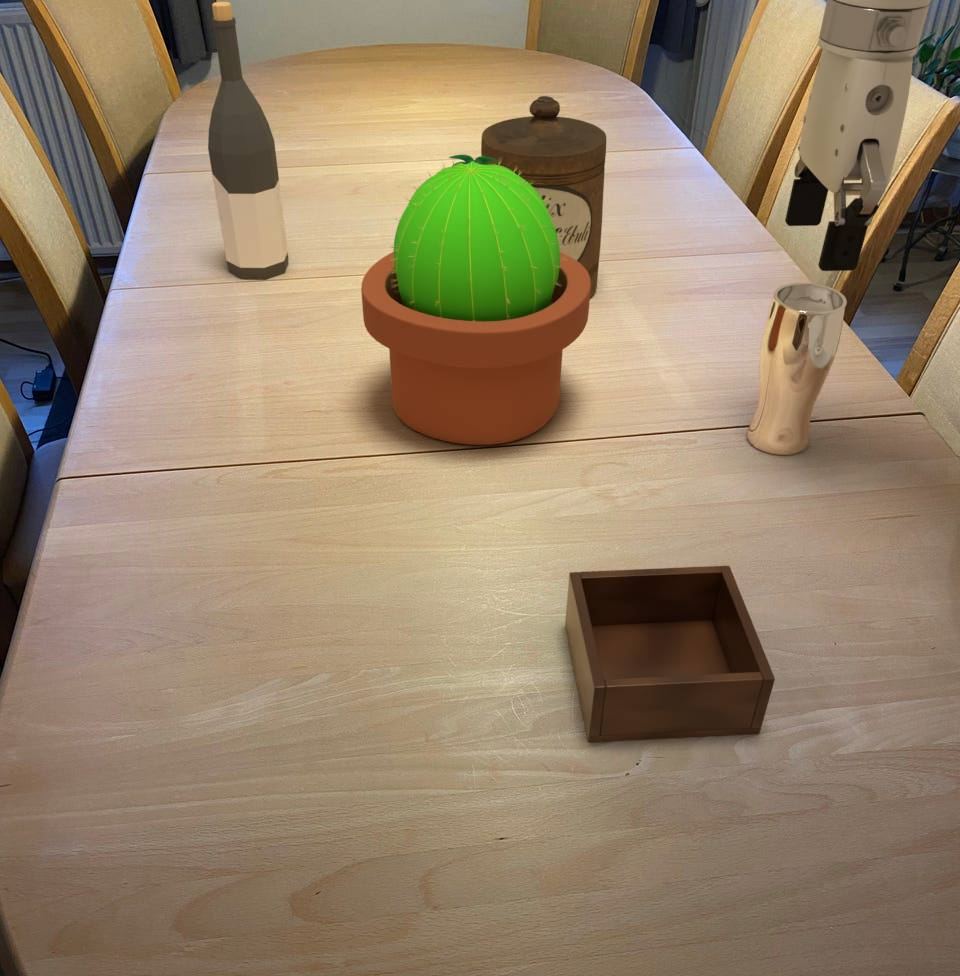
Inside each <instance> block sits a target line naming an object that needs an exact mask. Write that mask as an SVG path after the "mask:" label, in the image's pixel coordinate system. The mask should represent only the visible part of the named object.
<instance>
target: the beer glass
mask: <svg viewBox="0 0 960 976" xmlns="http://www.w3.org/2000/svg"><path fill="white" fill-rule="evenodd" d="M847 304H848V301H847V298H846V296H845V295H844V294H843V293H841V292H840V291H838V290H837V289H836V288H835V289H834V288H833V287H830V286H827V285H823V284H819V283H813V282H791V283H786V284H782V285H781V286H778V287H776V289H775V290H774V292H773V296H772V299H771V304H770V307H769V309H768V313H767V316H766V320H765V323H764V327H763V328H764V329H763V332H762V337H761V344H760V351H759V369H758V371H759V372H758V374H759V375H758V399H757V405H756V409H755V413H754V415H753V417H752V419H751V422H750V425H749V427H748V429H747V432H746V437H747V440H748V442H749V443H750V444H751V446H753V447H754V448H756V450H759V451H762V452H763V453H767V454H770V455H776V456H790V455H795V454H798V453H801V452H803V451H805V450H806V448H807V447H808V446H809V441H810V427H811V426H810V425H811V419H812V417H811V416H812V412H813V411H814V407H815V405H816V403H817V402H816V401H817V399H818V397H819V395H820V393H821V391H822V389H823V387H824V385H825V382H826V381H827V378H828V376H829V373H830V371H831V369H832V366H833V363H834V361H835V358H836V354H837V351H838V348H839V345H840V339H841V335H842V331H843V325H844V319H845V312H846V311H845V310H846V307H847Z"/></svg>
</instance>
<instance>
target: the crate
mask: <svg viewBox="0 0 960 976" xmlns="http://www.w3.org/2000/svg"><path fill="white" fill-rule="evenodd" d="M568 574H569V575H568V585H567V597H566V608H565V609H566V611H565V622H564V627H565V632H566V638H567V642H568V648H569V652H570V657H571V662H572V667H573V672H574V677H575V683H576V687H577V692H578V699H579V703H580V708H581V713H582V718H583V722H584V727H585V728H584V729H585V732H586V738H587V742H588V743H595V742H596V743H597V742H614V741H615V742H617V741H632V740H633V741H635V740H652V739H653V740H654V739H673V738H690V737H691V738H693V737H710V736H729V735H730V736H731V735H748V734H750V735H751V734H760V733H761V730H762V727H763V723H764V720H765V715H766V713H767V709H768V705H769V702H770V699H771V694H772V692H773V691H772V690H773V687H774V684H775V680H776V678H775V675H774V673H773V670H772V668H771V666H770V663H769V661H768V659H767V655H766V653H765V650H764V648H763V646H762V645H763V644H762V643H761V641H760V639H759V636H758V633H757V630H756V628H755V625H754V623H753V621H752V618H751V616H750V613H749V611H748V608H747V605H746V604H745V601H744V599H743V596H742V594H741V591H740V589H739V587H738V583H737V581H736V579H735V576H734V574H733V571H732V569H731V565H710V566H709V565H708V566H687V567H685V566H683V567H662V568H661V567H660V568H639V569H638V568H637V569H636V568H635V569H614V570H613V569H612V570H589V571H572V572H569V573H568Z"/></svg>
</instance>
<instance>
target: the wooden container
mask: <svg viewBox="0 0 960 976" xmlns="http://www.w3.org/2000/svg"><path fill="white" fill-rule="evenodd" d="M560 112H561V105H560V103H559V101H557V100H556V99H554V98H553V97H552V96H548V95H540V96H538V98H537V99H535V100H533V101H532V102H531V103H530V106H529V113H530V114H531V115H530V116H520V117H514V118H510V119H505V120H501V121H499V122H495V123H493V124H491V125H489V126H487V127H486V128H485V129H484V130H483V131H482V133H481V143H480V145H481V146H480V147H481V148H480V154H481V155H480V156H485V157H490V158H493V159H496V160H498V161H489V162H486V163H490V164H493V163H494V164H496V165H498V163H499V162H500V163H499V166H503V167H506V168H508V169H510V170H511V171H513V172H514V171H515V170H514V169H516V171H515V172H514V173H515V174H517V175H519V177H521V178H523V179H524V180H525V181H527V182H528V181H529V182H528V183H529V184H531V183H532V182H533V183H532V184H531V186H532V187H533V188H534V189H535V190H536V191H537V192H538V194H539V195H540V196H541V198H542V200H545V199H546V200H545V201H544V203H546V202H547V203H546V204H545V205H546V207H547V209H548V212H549V215H550V218H551V220H552V222H553V225H554V227H555V228H556V229H555V230H556V233H557V237H558V238H561V239H558V242H559V248H560V252H561V253H564V254H566V255H568V256H570V257H571V258H573V259H575V260H576V261H578V262H579V263H580V264H581V265H582V266H583V267H584V268H585V269H586V270H587V272H588V274H589V276H590V281H591V289H590V298H591V297H592V296H593V295H594V294H595V293H596V291H597V287H598V279H599V278H598V277H599V266H600V265H599V264H600V255H601V246H602V245H601V242H602V229H603V212H604V211H603V209H604V207H603V206H604V190H605V189H604V188H605V171H606V169H605V164H606V155H607V134H606V132H605V131H604V130H603V129H602V128H600V127H599V126H597V125H595V124H593V123H590V122H588V121H584V120H580V119H576V118H572V117H571V118H570V117H564V116H559V114H560ZM502 158H503V159H502ZM500 159H501V160H502V161H501V160H500ZM496 162H497V163H496ZM486 163H485V164H486ZM515 165H516V166H515ZM516 167H517V168H516ZM519 170H520V172H521V173H520V172H519ZM519 173H520V174H519ZM548 197H549V198H548ZM548 201H549V202H548ZM549 203H550V204H549ZM547 204H548V205H547ZM555 216H556V217H555ZM553 218H554V219H555V220H554V219H553ZM557 218H558V219H557ZM557 226H558V227H560V228H558V227H557ZM563 235H564V236H563ZM562 238H563V239H562ZM560 246H565V247H560Z"/></svg>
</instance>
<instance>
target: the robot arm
mask: <svg viewBox="0 0 960 976" xmlns="http://www.w3.org/2000/svg"><path fill="white" fill-rule="evenodd" d="M931 1H932V0H826V3H825V8H824V13H823V17H822V22H821V25H820V31H819V35H818V39H817V46H818V47H819V48H820V49H822V51H821V54H820V57H819V61H818V64H817V67H816V71H815V75H814V79H813V82H812V86H811V90H810V93H809V98H808V100H807V105H806V110H805V114H804V116H803V120H802V128H801V134H800V140H799V144H798V146H797V149H798V152H799V153H798V154H799V158H798V160H797V162H796V164H795V167H794V177H795V178H794V179H793V183H792V187H791V191H790V196H789V201H788V205H787V210H786V214H785V219H784V222H785V224H786V225H787V226H788V227H816V226H819V225H820V224H821V221H822V219H823V215H824V210H825V206H826V202H827V198H828V193H829V192H831V193H833V220H831V221H830V220H829V221H828V223H827V228H826V231H825V236H824V239H823V244H822V248H821V252H820V257H819V260H818V266H817V267H818V268H819V269H820V271H822V272H844V271H845V272H847V271H849V272H851V271H854V270H856V268H857V267H858V264H859V260H860V257H861V253H862V249H863V246H864V242H865V239H866V234H867V230H868V227H869V226H870V225H871V224H872V222H873V217H874V215H876V213H877V210H878V209H879V206H880V205H879V203H880V201H881V199H882V197H883V195H884V194H885V192H886V189H887V188H888V186H889V184H890V181H891V176H892V173H893V169H894V165H895V160H896V158H897V157H896V156H897V153H898V149H899V143H900V140H901V135H902V131H903V126H904V123H905V122H904V121H905V116H906V110H907V107H908V100H909V96H910V95H909V94H910V87H911V80H912V73H913V72H912V71H913V62H914V59H913V58H912V57H914V56H916V54H917V53H918V49H919V46H920V42H921V39H922V34H923V31H924V28H925V23H926V20H927V16H928V12H929V9H930V5H931V4H930V3H931ZM845 181H861V182H845ZM847 196H859V197H855V198H854V199H853V200H852V201H851V202H850V203H849V204H847Z"/></svg>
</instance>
